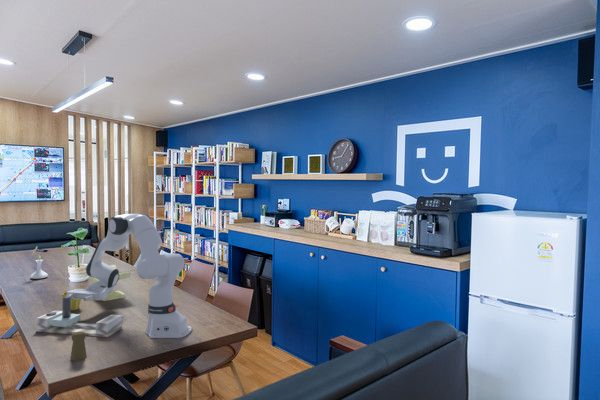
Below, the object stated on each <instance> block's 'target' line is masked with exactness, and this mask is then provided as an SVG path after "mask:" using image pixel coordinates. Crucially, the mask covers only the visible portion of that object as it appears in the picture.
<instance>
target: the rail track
mask: <svg viewBox="0 0 600 400" xmlns="http://www.w3.org/2000/svg"><path fill="white" fill-rule="evenodd" d="M61 315H62V310H53V311H50V312H47V313H45V314H43V315H41V316H38V317H36V332H40V333H52V334H53V333H55V334H63V335H65V334H66V335H72V334H73V333H75V332H78V331H83V332H85V334H86V336H90V337H104V338H108V337H110V336H112V335H113V334H115V333H117V332H118V331H120V330H121V329H122V328H123V315H122V314H110V315H108V316H105V317H104V318H102V319H100V320H98V321H97V322H96V323H91V322H90V323H89V322H79V321H78V322H77V323H73V324H72V327H71V328H65V327H56V326H52V319H55V318H57V317H59V316H61Z"/></svg>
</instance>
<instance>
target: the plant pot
mask: <svg viewBox="0 0 600 400" xmlns="http://www.w3.org/2000/svg"><path fill="white" fill-rule="evenodd" d="M67 292H68V291H64V292H63V293H62V294H61V295H62V296H61V298H63V297H67ZM81 300H82V299H71V311H77V310H79V309H80V306H81Z"/></svg>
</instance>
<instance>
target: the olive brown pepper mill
mask: <svg viewBox="0 0 600 400" xmlns="http://www.w3.org/2000/svg"><path fill="white" fill-rule="evenodd" d="M86 336H87V335H86V334H85V332H83V331H78V332H75V333H73V334H71V340H72V344H71V352H70V361H73V362H77V361H83V360H85V359H86V358H87V357H88V356H87V350H86V349H87V348H86V344H85V339H86Z"/></svg>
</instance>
